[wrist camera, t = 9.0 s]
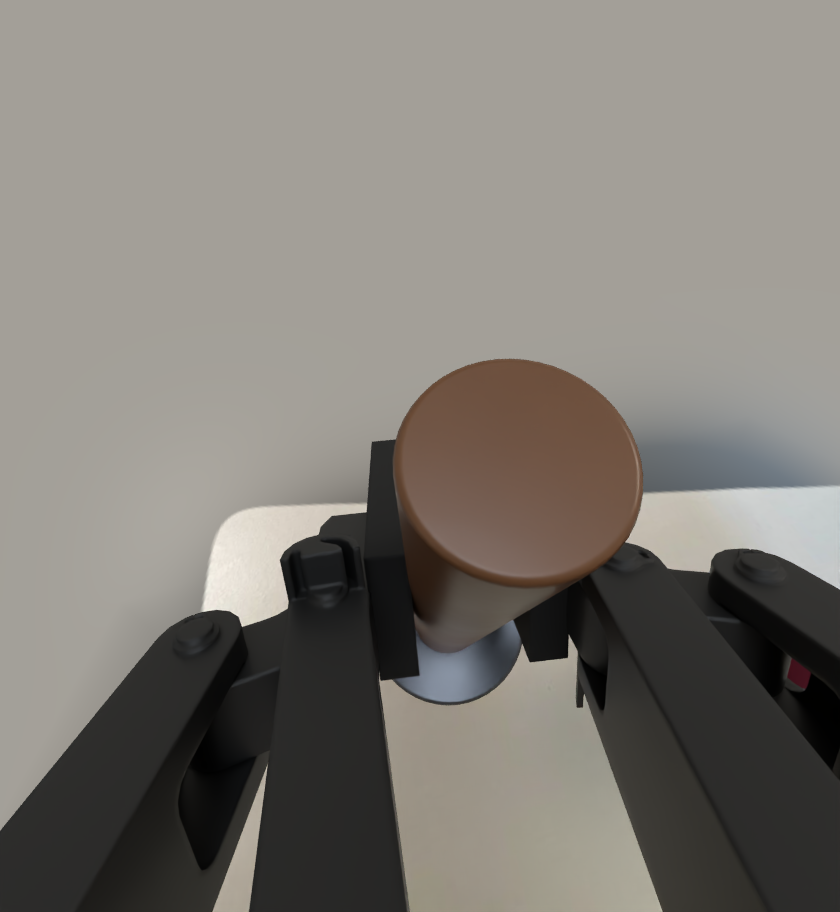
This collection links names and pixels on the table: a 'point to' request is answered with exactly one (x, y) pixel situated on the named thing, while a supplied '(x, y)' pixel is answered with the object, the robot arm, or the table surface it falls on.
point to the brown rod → (504, 511)
